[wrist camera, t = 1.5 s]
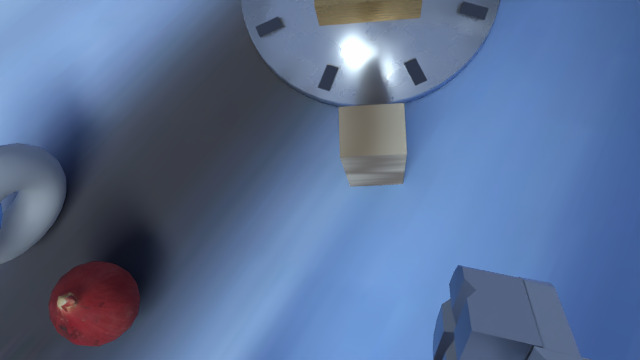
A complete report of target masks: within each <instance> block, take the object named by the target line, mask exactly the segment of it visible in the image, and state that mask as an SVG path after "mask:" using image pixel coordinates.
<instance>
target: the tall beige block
mask: <svg viewBox="0 0 640 360" xmlns="http://www.w3.org/2000/svg"><path fill="white" fill-rule="evenodd" d="M339 136H340V158H341V161H342V164H343V167H344V170H345V173H346V176H347V179H348V181H349V184H350V186H371V185H394V184H403V179H404V171H405V164H406V157H407V145H406V127H405V109H404V103H395V104H379V105H362V106H345V107H339Z"/></svg>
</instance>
